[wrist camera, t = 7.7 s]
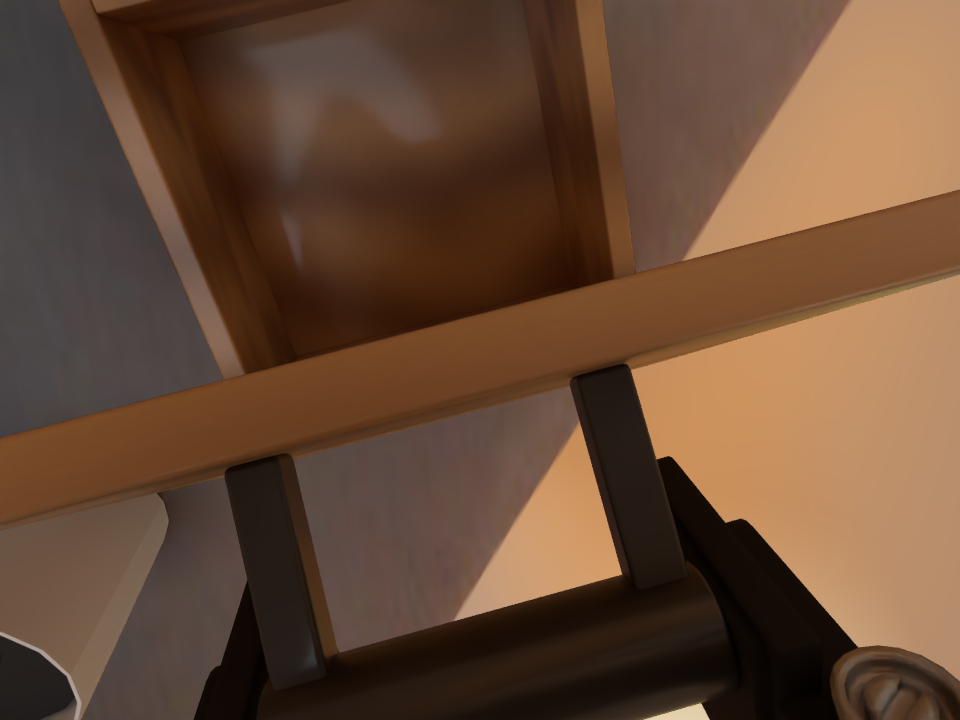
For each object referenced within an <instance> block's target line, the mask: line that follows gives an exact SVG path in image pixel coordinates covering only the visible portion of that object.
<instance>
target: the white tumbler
mask: <svg viewBox="0 0 960 720" xmlns="http://www.w3.org/2000/svg"><path fill="white" fill-rule="evenodd" d="M168 522H169V519H168V515H167V512H166V508H165V505H164V501H163V500H162V499H161V498H160V497H159V495H158V494H157V493H155V494H150V495H146V496H142V497H138V498H134V499H130V500H126V501H121V502H117V503H113V504H109V505H105V506H101V507H97V508H92V509H88V510H84V511H80V512H76V513H72V514H68V515H64V516H59V517H55V518H51V519H47V520H43V521H39V522H35V523H30V524H26V525H22V526H18V527H14V528H10V529H6V530H1V531H0V720H81V719H82V717H83V714H84V712H85V710H86V708H87V706H88V704H89V701H90V699H91V697H92V695H93V693H94V691H95V688H96V686H97V684H98V682H99V680H100V678H101V675H102V673H103V671H104V669H105V667H106V665H107V662H108V660H109V658H110V656H111V654H112V652H113V649H114V647H115V645H116V643H117V641H118V639H119V636H120V634H121V632H122V630H123V628H124V626H125V623H126V621H127V619H128V617H129V615H130V613H131V610H132V608H133V606H134V604H135V602H136V600H137V597H138V595H139V593H140V591H141V589H142V587H143V584H144V582H145V580H146V578H147V576H148V574H149V571H150V569H151V567H152V565H153V563H154V561H155V558H156V556H157V554H158V552H159V550H160V548H161V545H162V543H163V541H164V539H165V535H166V531H167V527H168Z"/></svg>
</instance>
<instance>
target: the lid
mask: <svg viewBox="0 0 960 720" xmlns="http://www.w3.org/2000/svg"><path fill="white" fill-rule="evenodd" d="M959 274H960V190H956V191H952V192H949V193H945V194H941V195H937V196H933V197H929V198H925V199H921V200H918V201H914V202H910V203H906V204H902V205H898V206H895V207H891V208H887V209H883V210H879V211H875V212H871V213H867V214H863V215H860V216H856V217H852V218H848V219H844V220H840V221H836V222H833V223H829V224H825V225H821V226H817V227H813V228H809V229H806V230H802V231H798V232H794V233H790V234H786V235H782V236H778V237H775V238H771V239H767V240H763V241H759V242H755V243H751V244H748V245H744V246H740V247H736V248H732V249H728V250H724V251H721V252H717V253H713V254H709V255H705V256H701V257H697V258H693V259H690V260H686V261H682V262H678V263H674V264H670V265H666V266H662V267H659V268H655V269H651V270H647V271H643V272H639V273H635V274H632V275H628V276H624V277H620V278H616V279H612V280H608V281H604V282H601V283H597V284H593V285H589V286H585V287H581V288H577V289H574V290H570V291H566V292H562V293H558V294H554V295H550V296H546V297H543V298H539V299H535V300H531V301H527V302H523V303H519V304H516V305H512V306H508V307H504V308H500V309H496V310H492V311H488V312H485V313H481V314H477V315H473V316H469V317H465V318H461V319H458V320H454V321H450V322H446V323H442V324H438V325H434V326H430V327H427V328H423V329H419V330H415V331H411V332H407V333H403V334H400V335H396V336H392V337H388V338H384V339H380V340H376V341H372V342H369V343H365V344H361V345H357V346H353V347H349V348H345V349H342V350H338V351H334V352H330V353H326V354H322V355H318V356H314V357H311V358H307V359H303V360H299V361H295V362H291V363H287V364H284V365H280V366H276V367H272V368H268V369H264V370H260V371H257V372H253V373H249V374H245V375H241V376H237V377H233V378H229V379H226V380H222V381H218V382H214V383H210V384H206V385H202V386H199V387H195V388H191V389H187V390H183V391H179V392H175V393H171V394H168V395H164V396H160V397H156V398H152V399H148V400H144V401H141V402H137V403H133V404H129V405H125V406H121V407H117V408H113V409H110V410H106V411H102V412H98V413H94V414H90V415H86V416H83V417H79V418H75V419H71V420H67V421H63V422H59V423H55V424H52V425H48V426H44V427H40V428H36V429H32V430H28V431H25V432H21V433H17V434H13V435H9V436H5V437H1V438H0V531H1V530H6V529H10V528H14V527H18V526H22V525H26V524H30V523H35V522H39V521H43V520H47V519H51V518H55V517H59V516H64V515H68V514H72V513H76V512H80V511H84V510H88V509H92V508H97V507H101V506H105V505H109V504H113V503H117V502H121V501H126V500H130V499H134V498H138V497H142V496H146V495H150V494H155V493H159V492H163V491H167V490H171V489H175V488H179V487H183V486H188V485H192V484H196V483H200V482H204V481H208V480H212V479H217V478H221V477H225V481H226V485H227V490H228V494H229V499H230V503H231V508H232V512H233V517H234V521H235V526H236V530H237V535H238V539H239V544H240V548H241V552H242V557H243V561H244V566H245V570H246V575H247V579H248V584H249V588H250V593H251V597H252V602H253V606H254V611H255V615H256V620H257V624H258V629H259V633H260V638H261V642H262V647H263V651H264V656H265V660H266V665H267V669H268V674H269V677H268V678H267V680H266V682H265V684H264V686H263V688H262V691H261V694H260V698H259V702H258V708H257V716H256V720H643V719H647V718H650V717H654V716H657V715H661V714H664V713H668V712H671V711H675V710H678V709H682V708H685V707H689V706H692V705H696V704H699V703H703V702H706V701H710V700H713V699H717V698H720V697H724V696H727V695H731V694H733V693H734V692H735V691H736V690H738V688H739V685H740V671H739V664H738V658H737V654H736V649H735V646H734V642H733V639H732V636H731V633H730V630H729V627H728V624H727V622H726V619H725V617H724V614H723V612H722V610H721V607H720V605H719V603H718V601H717V599H716V597H715V595H714V593H713V591H712V590H711V588H710V586H709V584H708V583H707V581H706V580H705V578H704V577H703V575H702V574H701V572H700V571H699V570H698V569H697V567H696V566H695V565H694V564H693V563H692V562H690V561H689V560H687V559H685V557H684V554H683V550H682V547H681V544H680V540H679V537H678V533H677V530H676V526H675V523H674V519H673V516H672V512H671V509H670V505H669V502H668V498H667V495H666V491H665V488H664V484H663V481H662V477H661V474H660V470H659V467H658V463H657V460H656V456H655V453H654V449H653V446H652V443H651V439H650V435H649V432H648V429H647V425H646V422H645V418H644V415H643V411H642V408H641V404H640V401H639V397H638V394H637V390H636V387H635V383H634V380H633V376H632V373H631V370H632V369H636V368H639V367H643V366H647V365H651V364H654V363H658V362H661V361H665V360H668V359H671V358H675V357H678V356H682V355H685V354H688V353H692V352H695V351H699V350H702V349H705V348H709V347H713V346H716V345H719V344H723V343H726V342H730V341H733V340H737V339H740V338H743V337H747V336H750V335H753V334H757V333H761V332H764V331H767V330H771V329H774V328H778V327H781V326H784V325H788V324H791V323H795V322H798V321H801V320H805V319H809V318H812V317H815V316H819V315H822V314H826V313H829V312H833V311H836V310H839V309H843V308H846V307H849V306H853V305H856V304H860V303H863V302H866V301H870V300H874V299H877V298H880V297H884V296H887V295H891V294H894V293H898V292H901V291H904V290H908V289H911V288H914V287H918V286H922V285H925V284H928V283H932V282H935V281H939V280H942V279H945V278H949V277H952V276H956V275H959ZM568 386H570V388H571V391H572V395H573V398H574V402H575V406H576V409H577V413H578V416H579V420H580V424H581V427H582V430H583V434H584V438H585V442H586V445H587V449H588V453H589V456H590V460H591V463H592V467H593V471H594V474H595V478H596V481H597V485H598V489H599V492H600V496H601V499H602V503H603V507H604V510H605V514H606V517H607V521H608V525H609V528H610V532H611V535H612V539H613V543H614V546H615V550H616V553H617V557H618V561H619V564H620V568H621V571H622V575H619V576H615V577H612V578H608V579H605V580H601V581H597V582H594V583H590V584H587V585H583V586H580V587H576V588H573V589H569V590H565V591H562V592H558V593H554V594H550V595H547V596H544V597H540V598H536V599H533V600H529V601H525V602H522V603H518V604H515V605H511V606H507V607H504V608H500V609H496V610H493V611H489V612H486V613H482V614H478V615H475V616H471V617H468V618H464V619H460V620H457V621H453V622H449V623H446V624H442V625H439V626H435V627H431V628H428V629H424V630H420V631H417V632H413V633H410V634H406V635H402V636H399V637H395V638H392V639H388V640H384V641H381V642H377V643H374V644H370V645H366V646H363V647H359V648H355V649H352V650H348V651H345V652H341V653H338V650H337V645H336V641H335V637H334V633H333V628H332V624H331V620H330V615H329V611H328V607H327V603H326V598H325V594H324V590H323V585H322V581H321V577H320V573H319V568H318V564H317V560H316V555H315V551H314V547H313V543H312V538H311V534H310V530H309V525H308V521H307V517H306V513H305V508H304V504H303V500H302V495H301V491H300V487H299V483H298V478H297V474H296V470H295V465H294V461H293V459H296V458H299V457H303V456H307V455H311V454H314V453H318V452H322V451H326V450H330V449H333V448H337V447H341V446H345V445H348V444H352V443H356V442H360V441H364V440H367V439H371V438H375V437H379V436H382V435H386V434H390V433H394V432H398V431H401V430H405V429H409V428H413V427H417V426H420V425H424V424H428V423H432V422H435V421H439V420H443V419H447V418H451V417H454V416H458V415H462V414H466V413H469V412H473V411H477V410H481V409H485V408H488V407H492V406H496V405H500V404H503V403H507V402H511V401H515V400H519V399H522V398H526V397H530V396H534V395H537V394H541V393H545V392H549V391H553V390H556V389H560V388H564V387H568Z"/></svg>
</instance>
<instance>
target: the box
mask: <svg viewBox="0 0 960 720" xmlns="http://www.w3.org/2000/svg"><path fill="white" fill-rule="evenodd" d="M58 2H59V5H60V7H61V9H62V11H63V14H64V16H65V18H66V20H67V23H68V25H69V27H70V30H71V32H72V34H73V36H74V39H75V41H76V43H77V46H78V48H79V50H80V52H81V55H82V57H83V59H84V62H85V64H86V66H87V68H88V71H89V73H90V75H91V78H92V80H93V82H94V84H95V87H96V89H97V91H98V94H99V96H100V98H101V100H102V103H103V105H104V107H105V110H106V112H107V114H108V116H109V119H110V121H111V123H112V126H113V128H114V130H115V132H116V135H117V137H118V139H119V142H120V144H121V146H122V148H123V151H124V153H125V155H126V158H127V160H128V162H129V164H130V167H131V169H132V171H133V174H134V176H135V178H136V180H137V183H138V185H139V187H140V190H141V192H142V194H143V196H144V199H145V201H146V203H147V206H148V208H149V210H150V212H151V215H152V217H153V219H154V222H155V224H156V226H157V228H158V231H159V233H160V235H161V238H162V240H163V242H164V244H165V247H166V249H167V251H168V254H169V256H170V258H171V260H172V263H173V265H174V267H175V270H176V272H177V274H178V276H179V279H180V281H181V283H182V286H183V288H184V290H185V292H186V295H187V297H188V299H189V302H190V304H191V306H192V308H193V311H194V313H195V315H196V318H197V320H198V322H199V324H200V327H201V329H202V331H203V333H204V336H205V338H206V340H207V343H208V345H209V347H210V349H211V352H212V354H213V356H214V359H215V361H216V363H217V365H218V368H219V370H220V372H221V375H222V377H223V379H224V380H226V379H229V378H233V377H237V376H241V375H245V374H249V373H253V372H257V371H260V370H264V369H268V368H272V367H276V366H280V365H284V364H287V363H291V362H295V361H299V360H303V359H307V358H311V357H314V356H318V355H322V354H326V353H330V352H334V351H338V350H342V349H345V348H349V347H353V346H357V345H361V344H365V343H369V342H372V341H376V340H380V339H384V338H388V337H392V336H396V335H400V334H403V333H407V332H411V331H415V330H419V329H423V328H427V327H430V326H434V325H438V324H442V323H446V322H450V321H454V320H458V319H461V318H465V317H469V316H473V315H477V314H481V313H485V312H488V311H492V310H496V309H500V308H504V307H508V306H512V305H516V304H519V303H523V302H527V301H531V300H535V299H539V298H543V297H546V296H550V295H554V294H558V293H562V292H566V291H570V290H574V289H577V288H581V287H585V286H589V285H593V284H597V283H601V282H604V281H608V280H612V279H616V278H620V277H624V276H628V275H632V274H635V273H636V272H635V264H634V256H633V248H632V240H631V232H630V223H629V215H628V207H627V199H626V191H625V183H624V175H623V167H622V159H621V151H620V143H619V135H618V127H617V119H616V111H615V103H614V95H613V87H612V79H611V71H610V63H609V55H608V47H607V39H606V31H605V22H604V14H603V6H602V0H58Z"/></svg>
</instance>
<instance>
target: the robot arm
mask: <svg viewBox="0 0 960 720" xmlns="http://www.w3.org/2000/svg"><path fill="white" fill-rule="evenodd" d="M657 463H658V467H659V470H660V474H661V477H662V481H663V484H664V488H665V491H666V495H667V498H668V502H669V505H670V509H671V512H672V516H673V519H674V523H675V526H676V530H677V533H678V537H679V540H680V544H681V547H682V550H683V554H684V557H685V559H687V560H689V561H690V562H692V563H693V564H694V565H695V566H696V567H697V569H698V570H699V571H700V572H701V574H702V575H703V577H704V578H705V580H706V581H707V583H708V584H709V586H710V588H711V590H712V591H713V593H714V595H715V597H716V599H717V601H718V603H719V605H720V607H721V610H722V612H723V614H724V617H725V619H726V622H727V624H728V627H729V630H730V633H731V636H732V639H733V642H734V646H735V649H736V654H737V658H738V664H739V671H740V685H739V688H738V690H736V691H735V692H734V693H733V694H731V695H727V696H724V697H720V698H717V699H713V700H710V701H706V702H703V703H701V704H702V705H703V707H704V709H705V711H706V713H707V715H708V717H709V719H710V720H960V681H959V680H957V679H956V678H955V677H954V676H953V675H951V674H950V673H949V672H948V671H947V670H945V669H944V668H943V667H941V666H940V665H938V664H936V663H934V662H932V661H931V660H929V659H927V658H925V657H923V656H922V655H919V654H916V653H913V652H910V651H907V650H904V649H900V648H894V647H887V646H869V647H859V648H858V647H857V646H856V644H855V643H854V642H853V641H852V640H851V639H850V638H849V636H848V635H847V634H846V633H845V632H844V631H843V630H842V629H841V627H840V626H839V625H838V624H837V623H836V621H835V620H834V619H833V618H832V617H831V616H830V615H829V613H828V612H827V611H826V610H825V609H824V608H823V607H822V606H821V604H820V603H819V602H818V601H817V600H816V599H815V597H814V596H813V595H812V594H811V593H810V592H809V591H808V590H807V588H806V587H805V586H804V585H803V584H802V583H801V581H800V580H799V579H798V578H797V577H796V576H795V574H794V573H793V572H792V571H791V570H790V569H789V568H788V566H787V565H786V564H785V563H784V562H783V561H782V560H781V558H780V557H779V556H778V555H777V554H776V553H775V552H774V551H773V549H772V548H771V547H770V546H769V545H768V543H767V542H766V541H765V540H764V539H763V538H762V537H761V535H760V534H759V533H758V532H757V531H756V530H755V529H754V527H753V526H752V525H750V524H749V523H748V522H747V521H746V520H743V519H738V520H734V521H731V522H727V523H725V522H724V520H723V519H722V518H721V517H720V516H719V514H718V513H717V512H716V511H715V509H714V508H713V507H712V506H711V504H710V503H709V502H708V501H707V500H706V498H705V497H704V496H703V495H702V494H701V492H700V491H699V490H698V488H697V487H696V486H695V485H694V484H693V482H692V481H691V480H690V479H689V477H688V476H687V475H686V474H685V473H684V471H683V470H682V469H681V468H680V466H679V465H678V464H677V463H676V461H675V460H674V459H673V458H672V457H670V456H667V457H664V458H660V459H657ZM337 650H338V649H337ZM338 653H339V651H338ZM268 677H269V674H268V669H267V665H266V660H265V656H264V651H263V647H262V642H261V638H260V633H259V629H258V624H257V620H256V615H255V611H254V606H253V602H252V597H251V593H250V588H249V584H248V580H247V583H246V586H245V589H244V593H243V596H242V599H241V602H240V605H239V608H238V612H237V615H236V618H235V621H234V624H233V628H232V631H231V634H230V637H229V640H228V644H227V647H226V650H225V653H224V656H223V660H222V663H221V665H220V666H217V667H215V668H214V669H213V670H212V671H211V672H210V675H209V677H208V679H207V681H206V684H205V687H204V690H203V693H202V696H201V699H200V702H199V705H198V708H197V711H196V714H195V717H194V720H256V716H257V708H258V702H259V698H260V694H261V691H262V688H263V686H264V684H265V682H266V680H267V678H268Z"/></svg>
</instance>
